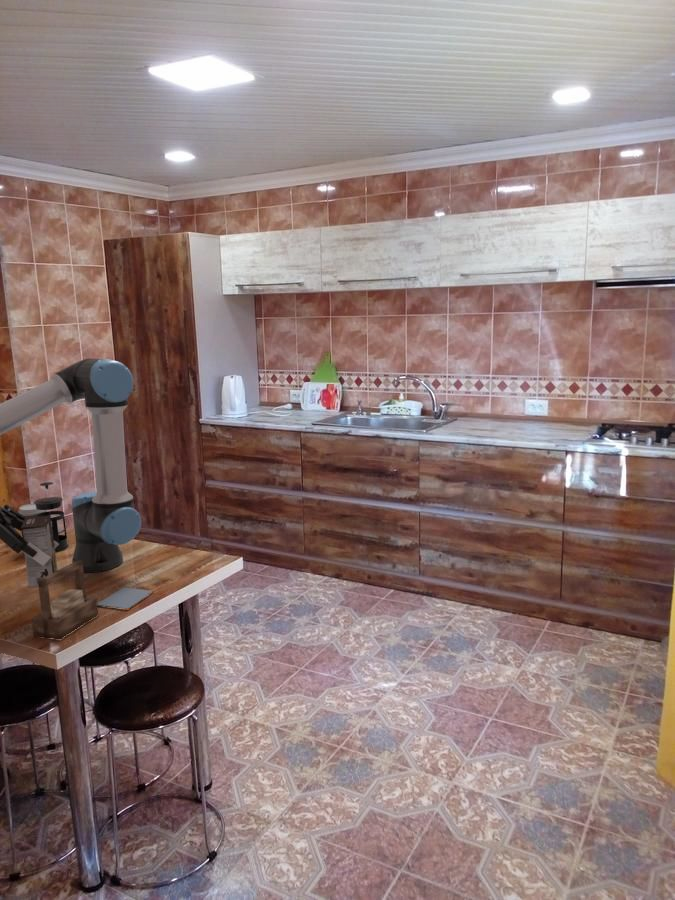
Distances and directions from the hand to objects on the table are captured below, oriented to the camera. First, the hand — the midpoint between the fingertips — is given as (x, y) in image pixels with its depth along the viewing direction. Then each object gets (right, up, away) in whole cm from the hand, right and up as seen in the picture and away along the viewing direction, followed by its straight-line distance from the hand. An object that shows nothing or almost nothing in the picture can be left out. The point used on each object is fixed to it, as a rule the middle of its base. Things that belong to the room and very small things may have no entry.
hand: (51, 554), depth 175 cm
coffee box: (-2, -7, +1) cm, 7 cm away
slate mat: (+16, -14, +10) cm, 24 cm away
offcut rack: (+6, -17, -5) cm, 19 cm away
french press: (-22, -6, +53) cm, 58 cm away
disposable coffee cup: (-32, -5, +64) cm, 72 cm away
